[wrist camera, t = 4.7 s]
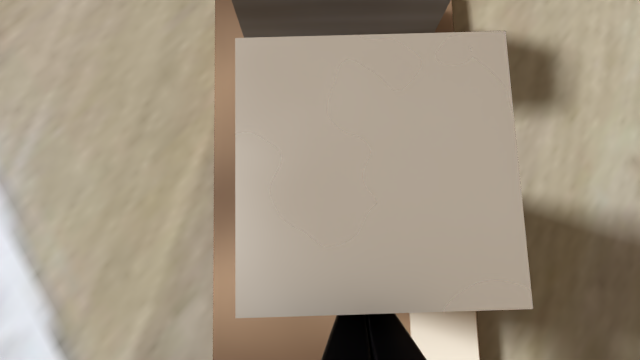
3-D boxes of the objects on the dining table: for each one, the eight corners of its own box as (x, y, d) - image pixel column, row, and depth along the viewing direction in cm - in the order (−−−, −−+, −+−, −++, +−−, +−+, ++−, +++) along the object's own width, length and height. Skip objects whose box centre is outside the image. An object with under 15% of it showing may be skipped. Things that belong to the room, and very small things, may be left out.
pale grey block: (473, 277, 16) (710, 303, 6) (285, 283, 16) (235, 319, 6) (461, 121, 17) (651, -65, 7) (282, 126, 17) (234, -54, 7)
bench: (480, 477, 17) (571, 599, 11) (218, 486, 16) (162, 613, 11) (443, -6, 19) (497, -122, 14) (220, -1, 19) (178, -115, 13)
